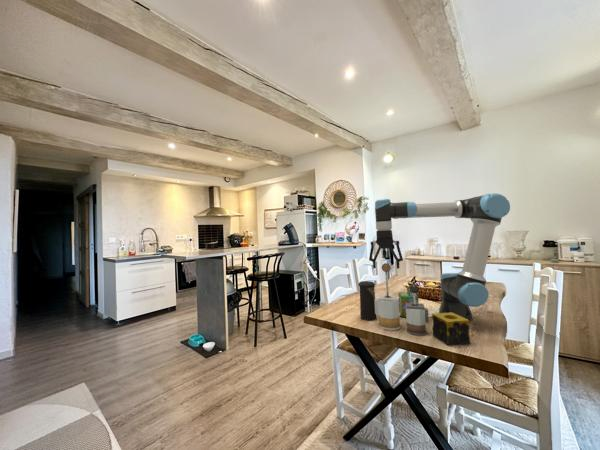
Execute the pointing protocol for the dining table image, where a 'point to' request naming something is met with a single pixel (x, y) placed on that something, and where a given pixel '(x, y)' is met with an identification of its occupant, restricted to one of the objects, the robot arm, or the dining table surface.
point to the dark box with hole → (451, 328)
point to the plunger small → (414, 291)
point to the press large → (388, 312)
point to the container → (367, 300)
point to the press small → (416, 319)
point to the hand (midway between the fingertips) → (386, 274)
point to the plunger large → (386, 269)
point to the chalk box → (405, 301)
